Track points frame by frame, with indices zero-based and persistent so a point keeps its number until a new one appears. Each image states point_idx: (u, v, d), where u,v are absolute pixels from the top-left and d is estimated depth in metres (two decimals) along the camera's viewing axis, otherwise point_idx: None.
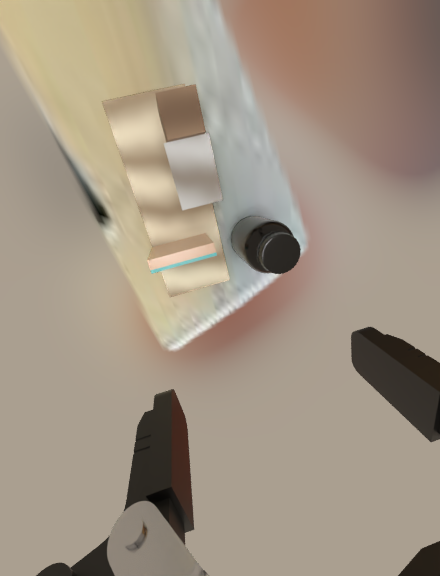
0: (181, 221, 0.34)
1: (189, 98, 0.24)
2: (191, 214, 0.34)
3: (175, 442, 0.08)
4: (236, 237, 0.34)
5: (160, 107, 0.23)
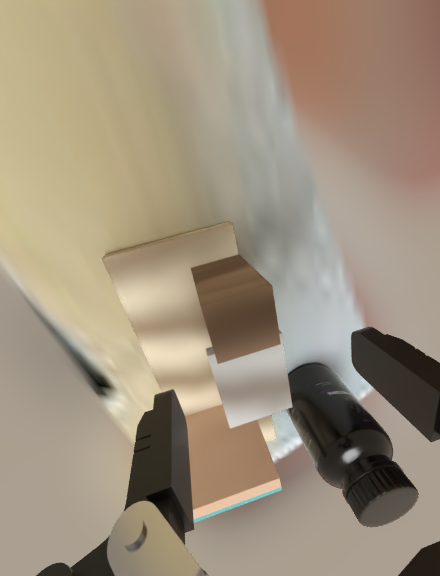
0: (216, 388, 0.24)
1: (259, 305, 0.13)
2: None
3: (175, 442, 0.08)
4: (294, 411, 0.24)
5: (208, 324, 0.13)
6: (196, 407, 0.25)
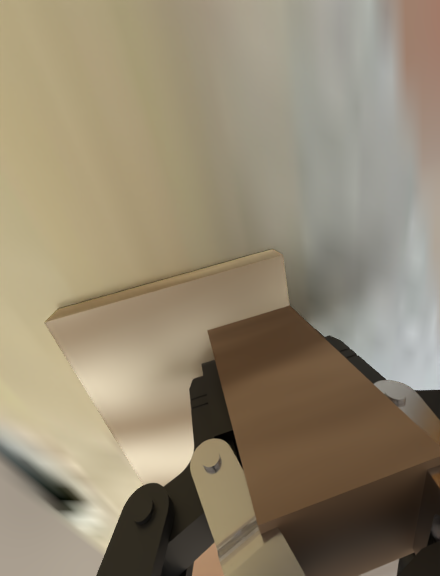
0: None
1: (403, 496, 0.05)
2: None
3: None
4: None
5: None
6: None
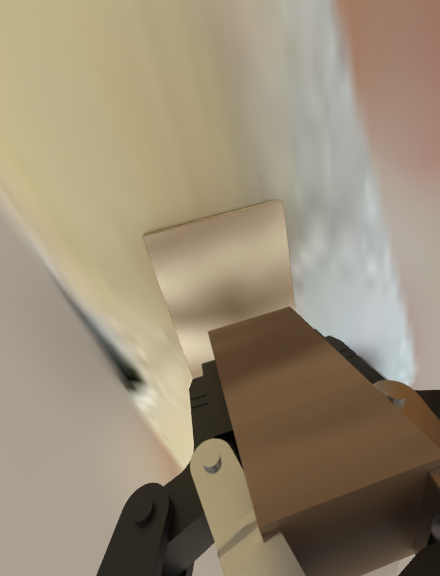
0: None
1: (404, 498, 0.05)
2: None
3: None
4: None
5: None
6: None
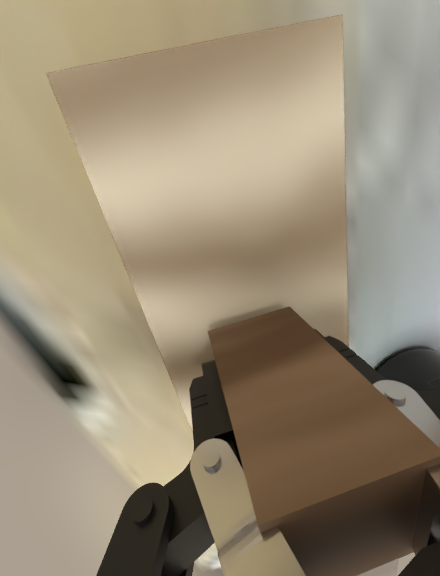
0: None
1: (402, 496, 0.05)
2: None
3: None
4: None
5: None
6: None
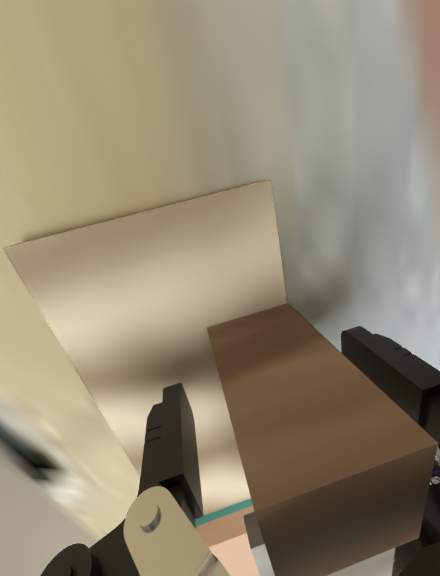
0: (231, 465, 0.15)
1: (396, 485, 0.05)
2: None
3: (184, 433, 0.08)
4: None
5: (269, 539, 0.05)
6: None
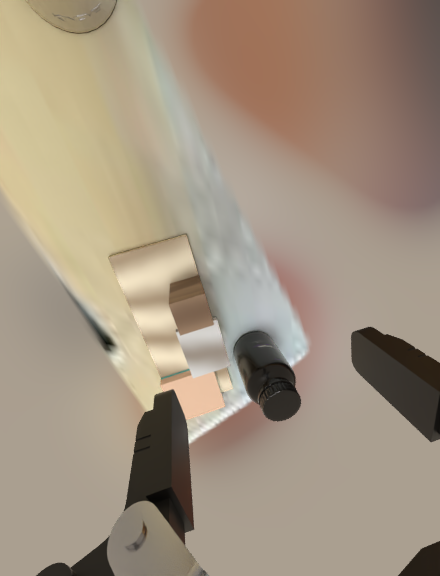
0: None
1: (199, 304, 0.26)
2: None
3: (175, 442, 0.08)
4: (238, 361, 0.35)
5: (173, 313, 0.26)
6: (172, 360, 0.36)
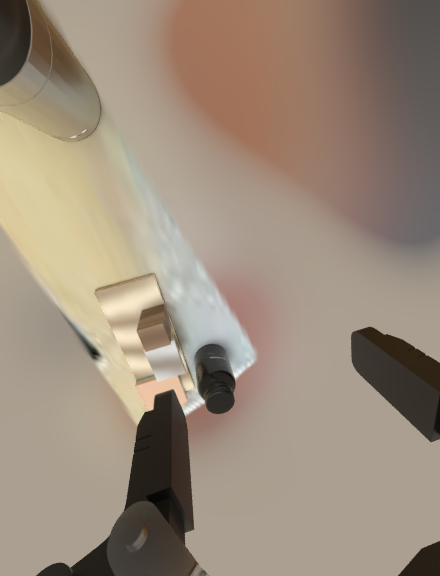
0: None
1: (158, 330, 0.36)
2: None
3: (175, 442, 0.08)
4: (196, 368, 0.46)
5: (140, 337, 0.36)
6: (145, 366, 0.46)
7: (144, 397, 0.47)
